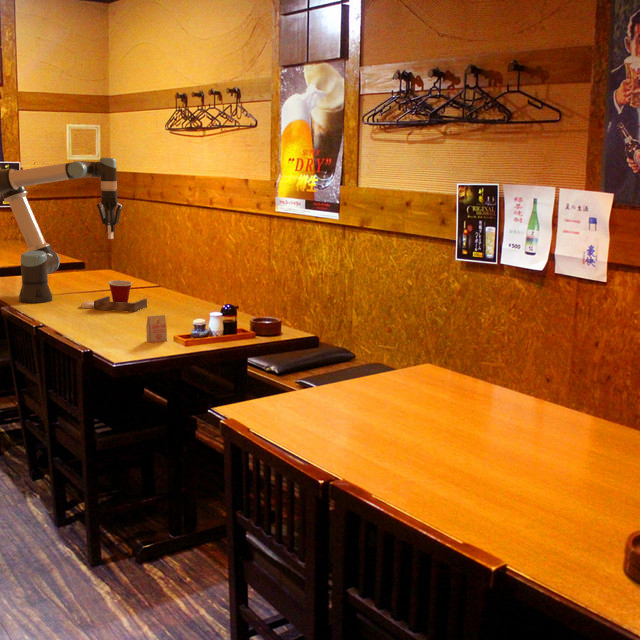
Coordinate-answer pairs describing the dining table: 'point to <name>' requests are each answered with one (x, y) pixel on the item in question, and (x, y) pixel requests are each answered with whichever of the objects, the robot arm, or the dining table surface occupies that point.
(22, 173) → the robot arm
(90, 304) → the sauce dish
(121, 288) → the plastic cup
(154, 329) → the printed paper bag
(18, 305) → the dining table surface
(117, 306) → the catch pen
